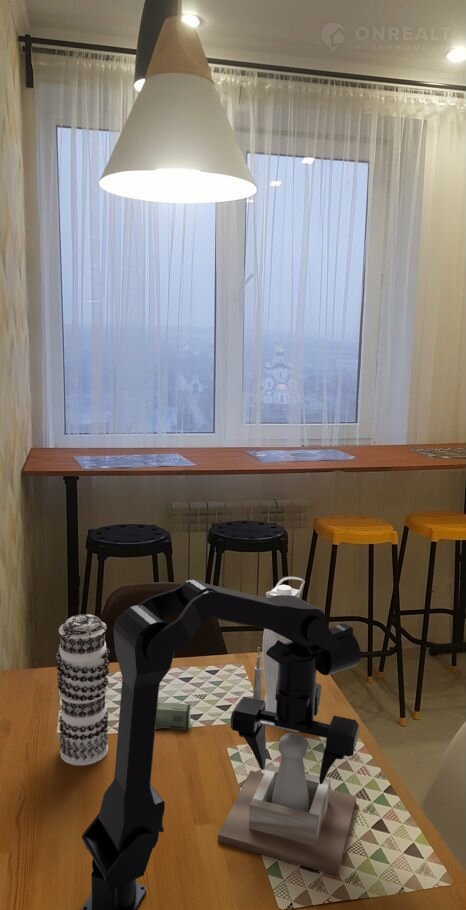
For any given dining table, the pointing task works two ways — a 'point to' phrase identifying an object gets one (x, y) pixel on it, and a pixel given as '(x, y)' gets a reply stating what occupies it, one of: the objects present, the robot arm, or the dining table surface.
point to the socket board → (290, 823)
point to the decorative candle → (83, 689)
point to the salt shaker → (291, 774)
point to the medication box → (173, 716)
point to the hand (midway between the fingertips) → (291, 775)
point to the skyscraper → (268, 663)
